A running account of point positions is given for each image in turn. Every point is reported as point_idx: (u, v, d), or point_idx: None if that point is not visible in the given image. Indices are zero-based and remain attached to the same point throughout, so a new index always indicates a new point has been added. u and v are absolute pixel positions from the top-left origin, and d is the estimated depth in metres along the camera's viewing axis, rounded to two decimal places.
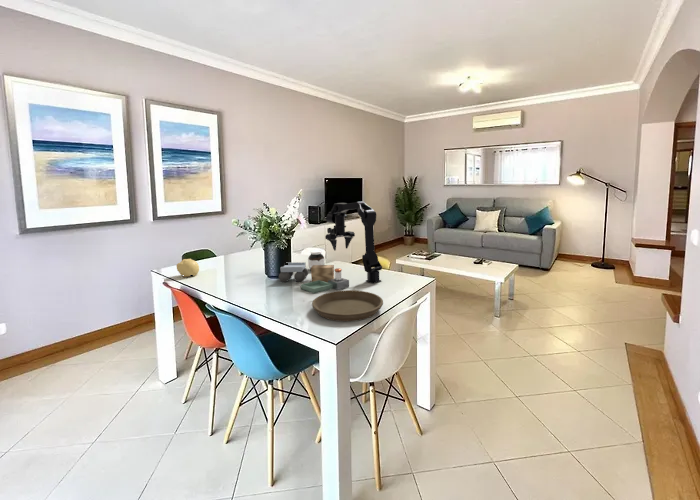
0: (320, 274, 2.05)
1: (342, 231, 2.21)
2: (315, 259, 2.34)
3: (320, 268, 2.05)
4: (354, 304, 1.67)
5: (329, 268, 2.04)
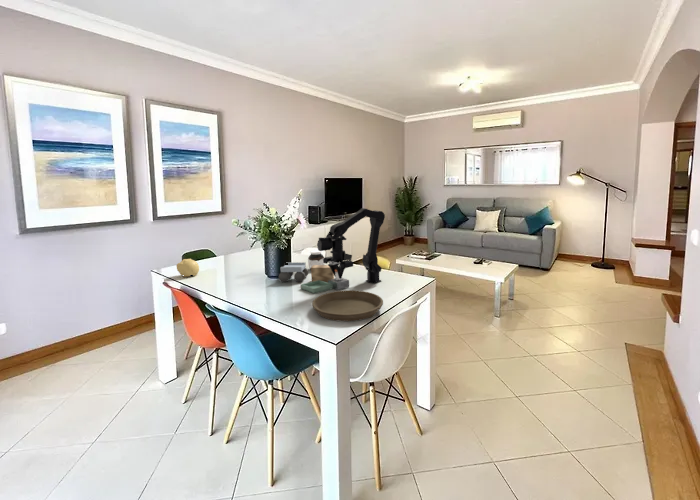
0: (320, 274, 2.05)
1: (333, 257, 1.93)
2: (315, 259, 2.34)
3: (320, 268, 2.05)
4: (354, 304, 1.67)
5: (329, 268, 2.04)
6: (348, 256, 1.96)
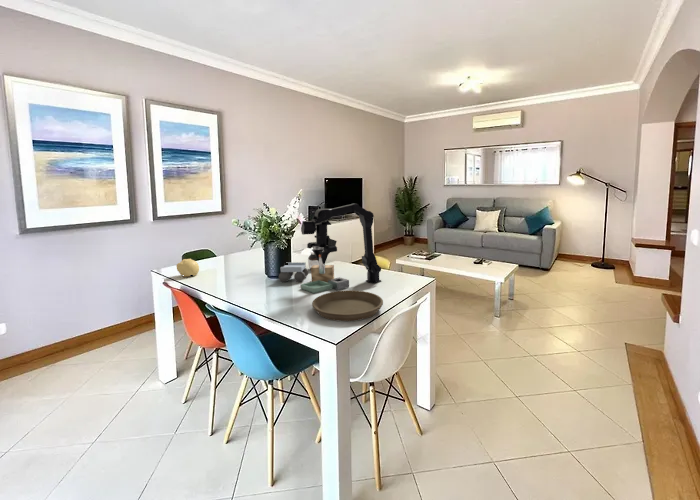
0: (320, 274, 2.05)
1: (316, 242, 1.89)
2: (315, 259, 2.34)
3: None
4: (354, 304, 1.67)
5: (329, 268, 2.04)
6: (332, 241, 1.93)
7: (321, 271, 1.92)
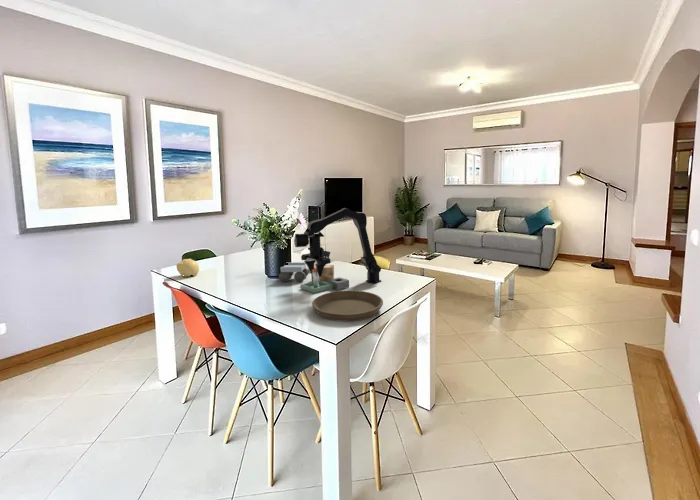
0: None
1: (310, 254, 1.90)
2: None
3: None
4: (354, 304, 1.67)
5: (329, 268, 2.04)
6: (326, 253, 1.93)
7: (315, 286, 1.93)
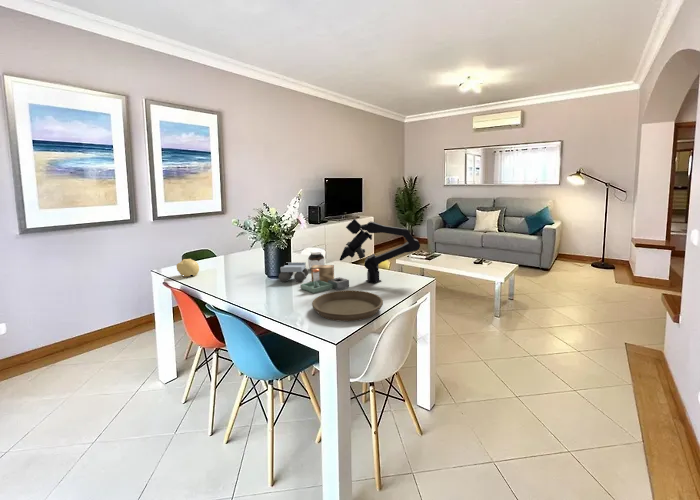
0: (320, 274, 2.05)
1: (350, 242, 2.04)
2: (315, 259, 2.34)
3: (320, 268, 2.05)
4: (354, 304, 1.67)
5: (329, 268, 2.04)
6: (360, 253, 2.02)
7: (316, 286, 1.93)
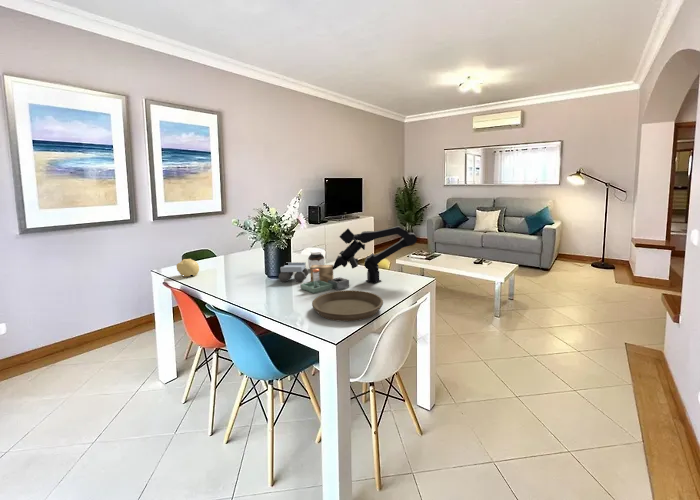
0: (320, 274, 2.05)
1: (343, 251, 2.05)
2: (315, 259, 2.34)
3: (319, 268, 2.05)
4: (354, 304, 1.67)
5: (328, 268, 2.04)
6: (353, 262, 2.03)
7: (316, 286, 1.93)
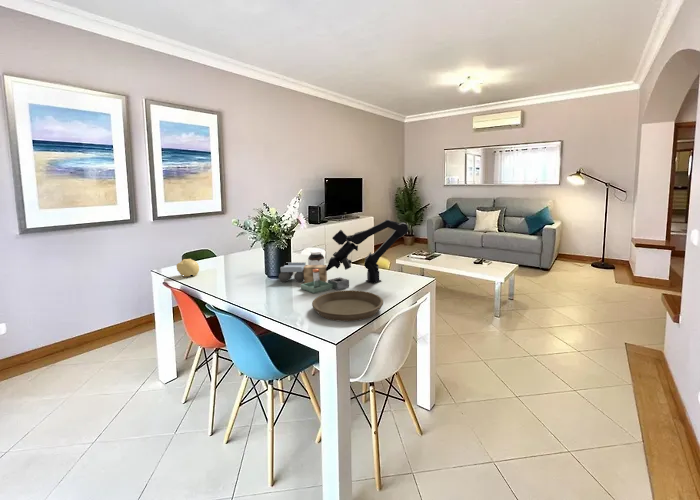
0: None
1: (336, 252, 2.06)
2: (315, 259, 2.34)
3: (312, 268, 2.05)
4: (354, 304, 1.67)
5: (321, 268, 2.05)
6: (346, 264, 2.04)
7: (316, 286, 1.93)
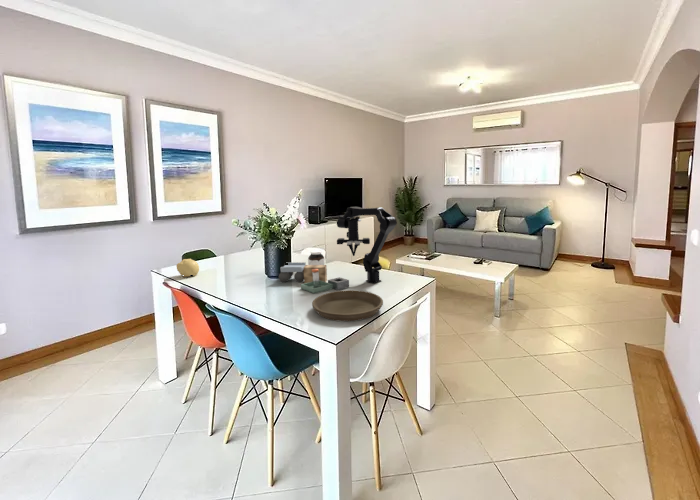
0: None
1: (352, 237, 2.09)
2: (315, 259, 2.34)
3: (312, 268, 2.05)
4: (354, 304, 1.67)
5: (321, 268, 2.05)
6: None
7: (316, 286, 1.93)
